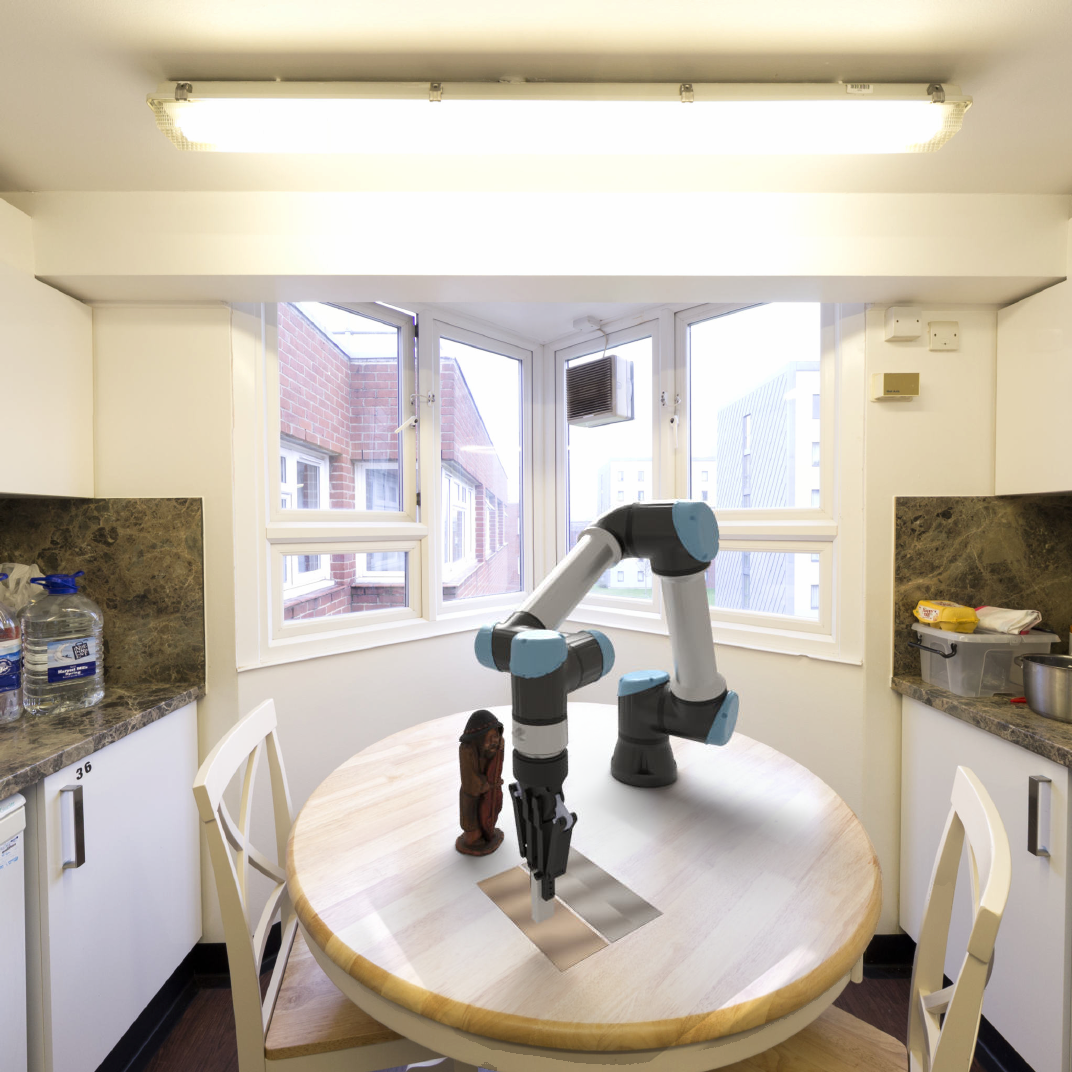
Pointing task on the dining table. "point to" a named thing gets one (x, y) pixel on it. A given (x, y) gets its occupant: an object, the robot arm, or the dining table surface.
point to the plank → (554, 936)
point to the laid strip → (601, 898)
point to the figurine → (481, 784)
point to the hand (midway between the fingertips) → (542, 916)
